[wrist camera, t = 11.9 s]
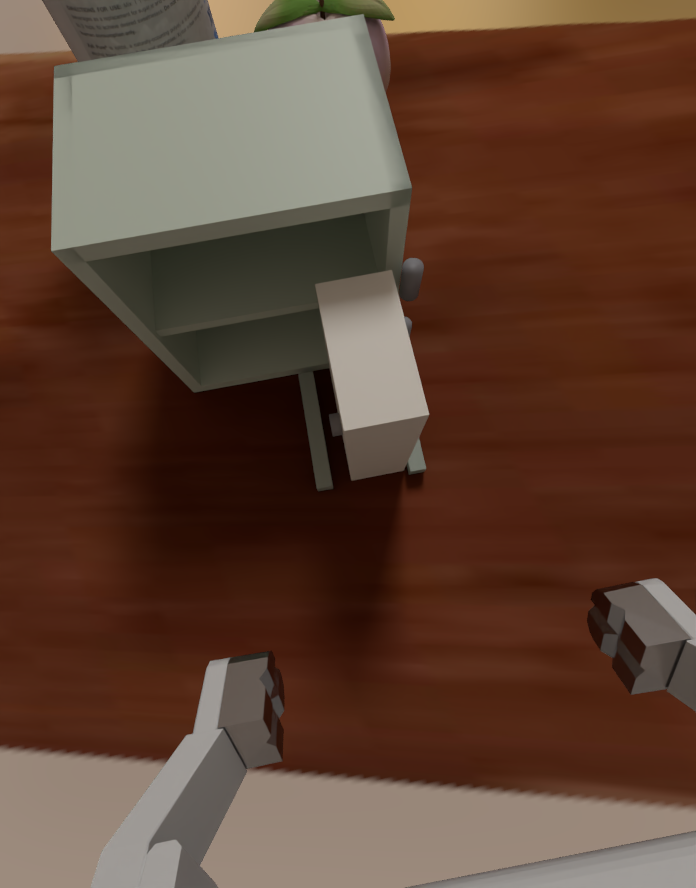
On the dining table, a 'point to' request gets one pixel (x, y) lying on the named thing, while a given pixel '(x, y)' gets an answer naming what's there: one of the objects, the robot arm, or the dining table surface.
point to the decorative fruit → (317, 3)
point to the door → (371, 373)
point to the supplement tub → (130, 25)
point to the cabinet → (233, 198)
